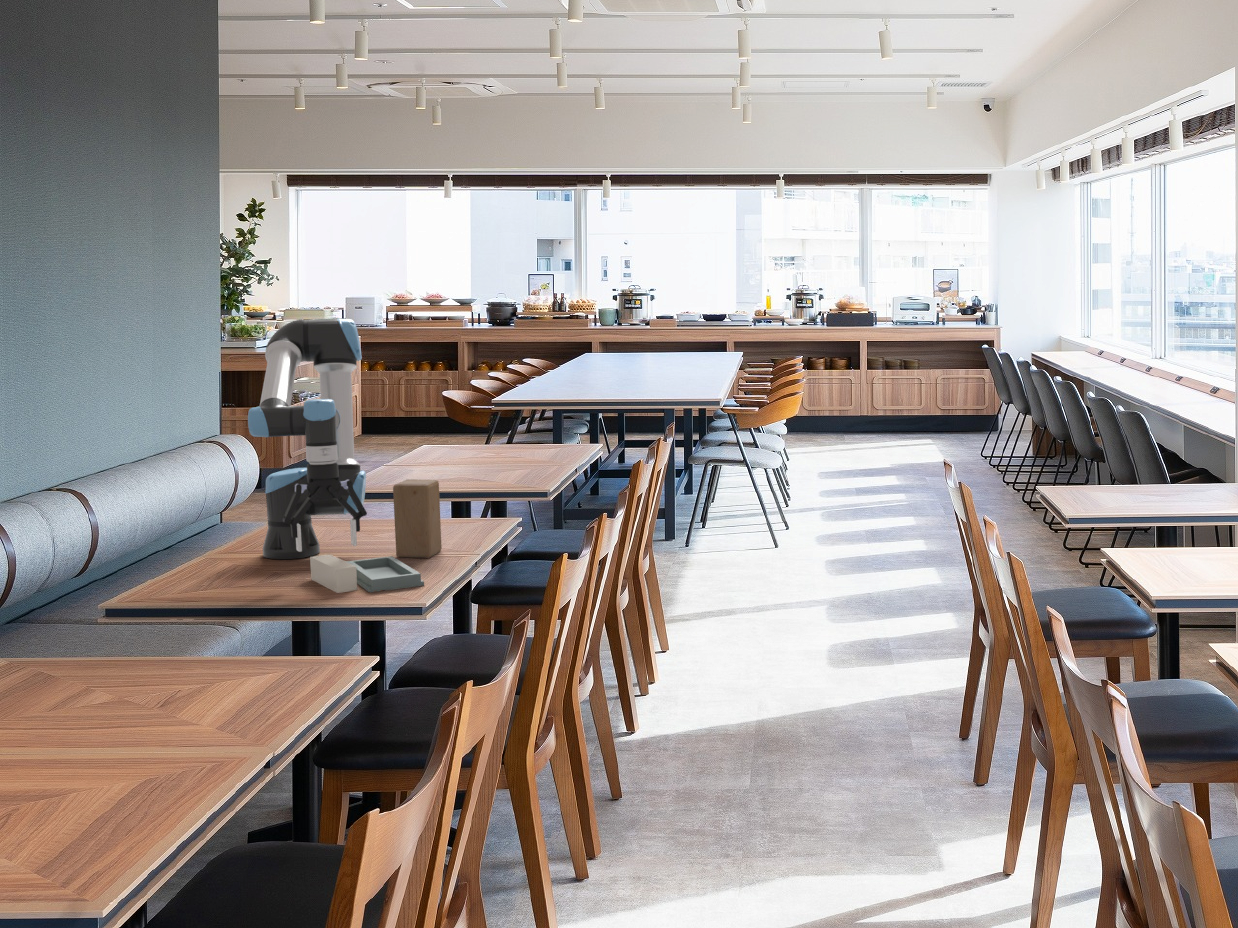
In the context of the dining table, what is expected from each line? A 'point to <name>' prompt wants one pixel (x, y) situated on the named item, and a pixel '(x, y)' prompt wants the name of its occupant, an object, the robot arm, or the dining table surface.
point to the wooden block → (417, 518)
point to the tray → (385, 574)
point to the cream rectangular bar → (333, 573)
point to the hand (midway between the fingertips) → (326, 547)
